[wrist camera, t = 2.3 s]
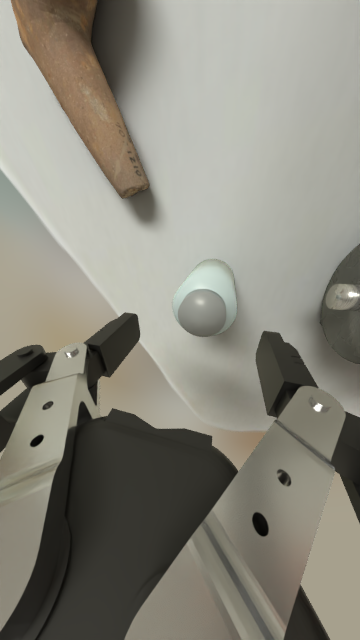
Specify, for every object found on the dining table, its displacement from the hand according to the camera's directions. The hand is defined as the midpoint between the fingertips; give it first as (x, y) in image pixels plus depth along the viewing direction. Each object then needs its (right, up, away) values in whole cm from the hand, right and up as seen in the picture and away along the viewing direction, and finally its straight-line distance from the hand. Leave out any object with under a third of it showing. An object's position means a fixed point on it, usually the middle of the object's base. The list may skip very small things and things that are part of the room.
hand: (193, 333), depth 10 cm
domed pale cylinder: (+3, +6, +9) cm, 11 cm away
